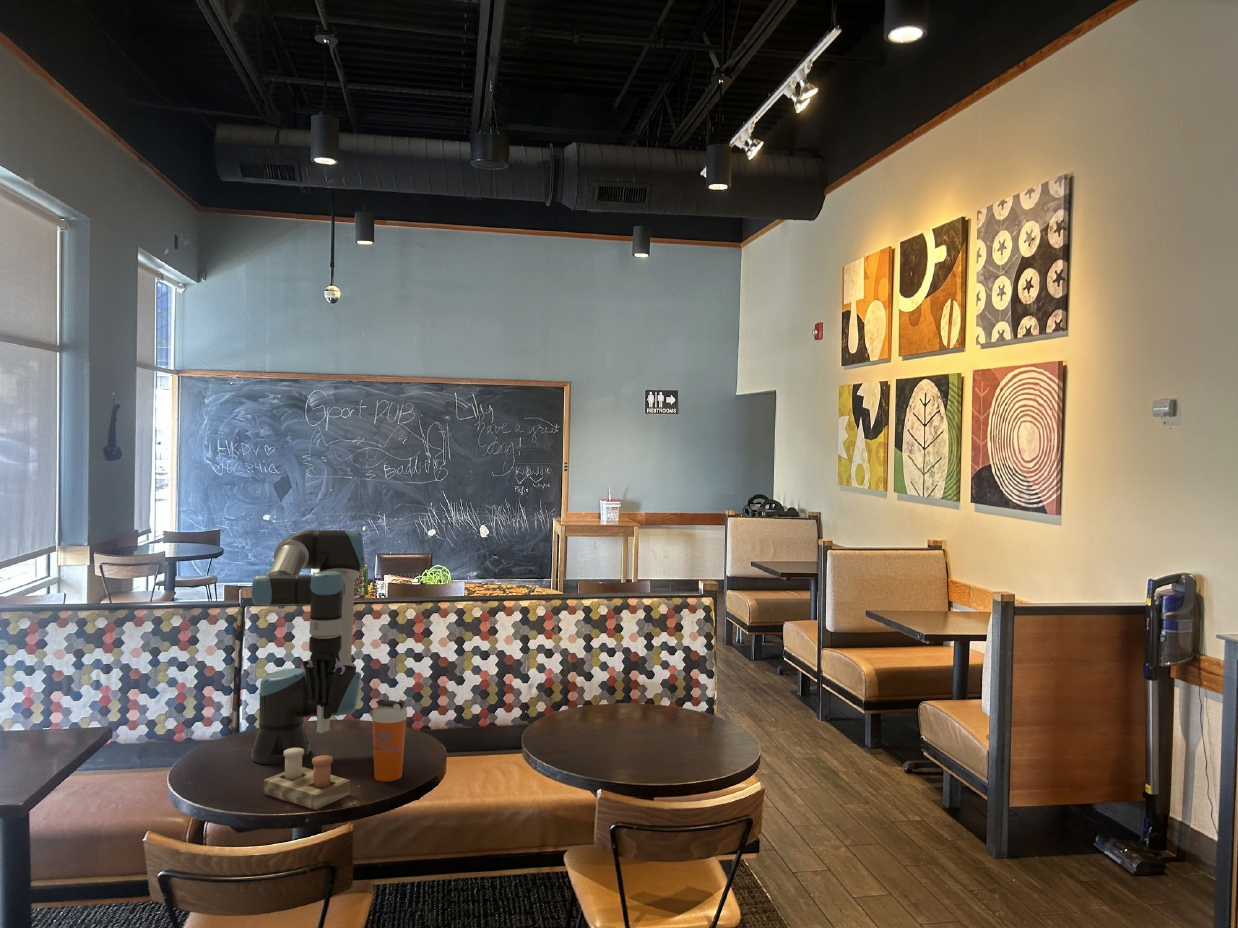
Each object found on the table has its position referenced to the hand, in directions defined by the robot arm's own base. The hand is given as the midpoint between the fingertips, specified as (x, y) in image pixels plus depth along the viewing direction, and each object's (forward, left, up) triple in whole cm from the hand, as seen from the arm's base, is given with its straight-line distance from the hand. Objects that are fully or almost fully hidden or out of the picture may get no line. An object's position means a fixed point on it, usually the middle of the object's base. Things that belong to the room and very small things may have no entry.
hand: (323, 730), depth 208 cm
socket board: (-5, 0, -17) cm, 18 cm away
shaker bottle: (+4, +19, -17) cm, 26 cm away
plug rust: (0, 0, -14) cm, 14 cm away
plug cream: (-10, 0, -14) cm, 17 cm away
